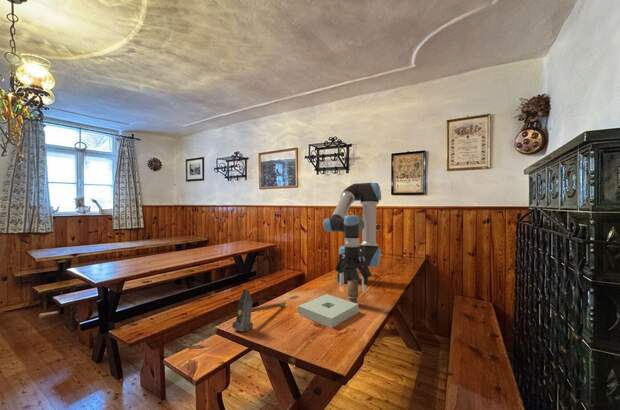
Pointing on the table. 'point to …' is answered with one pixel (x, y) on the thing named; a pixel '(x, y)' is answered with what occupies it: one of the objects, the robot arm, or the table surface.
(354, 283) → the peg
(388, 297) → the table surface
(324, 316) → the board
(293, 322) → the table surface
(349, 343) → the table surface
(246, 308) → the hammer
